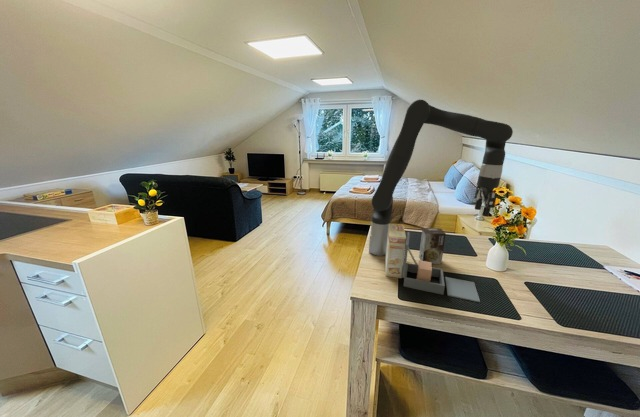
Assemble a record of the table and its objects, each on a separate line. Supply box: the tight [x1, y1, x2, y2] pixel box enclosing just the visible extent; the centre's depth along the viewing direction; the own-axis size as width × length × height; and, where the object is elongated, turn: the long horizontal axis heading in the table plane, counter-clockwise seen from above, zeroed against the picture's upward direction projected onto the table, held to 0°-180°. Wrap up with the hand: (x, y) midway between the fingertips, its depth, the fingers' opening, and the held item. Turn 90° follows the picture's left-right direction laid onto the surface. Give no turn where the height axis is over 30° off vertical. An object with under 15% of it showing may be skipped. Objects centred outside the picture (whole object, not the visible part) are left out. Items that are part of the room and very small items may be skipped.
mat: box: [444, 276, 481, 303], centre depth 101 cm, size 11×13×1 cm
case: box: [401, 231, 446, 296], centre depth 103 cm, size 16×13×19 cm
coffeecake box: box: [384, 223, 407, 279], centre depth 113 cm, size 15×7×20 cm, turn 166°
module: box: [416, 259, 432, 282], centre depth 105 cm, size 5×7×8 cm
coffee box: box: [418, 227, 447, 265], centre depth 120 cm, size 9×6×16 cm
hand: (481, 212), depth 106 cm, fingers open, 8 cm apart
